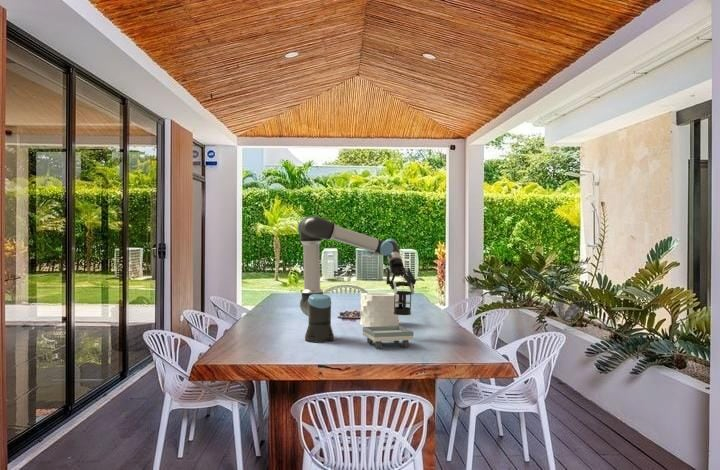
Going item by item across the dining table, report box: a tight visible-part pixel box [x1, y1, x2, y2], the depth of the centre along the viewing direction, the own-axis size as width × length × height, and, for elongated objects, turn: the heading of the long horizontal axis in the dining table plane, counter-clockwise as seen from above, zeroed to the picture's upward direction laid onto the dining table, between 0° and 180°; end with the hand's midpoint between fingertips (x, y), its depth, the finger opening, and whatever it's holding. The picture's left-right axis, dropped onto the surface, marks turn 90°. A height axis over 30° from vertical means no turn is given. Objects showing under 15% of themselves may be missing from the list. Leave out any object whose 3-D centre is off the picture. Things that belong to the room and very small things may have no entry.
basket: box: [359, 291, 400, 327], centre depth 376 cm, size 25×24×19 cm
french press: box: [393, 271, 412, 316], centre depth 328 cm, size 12×9×23 cm
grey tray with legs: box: [362, 325, 414, 350], centre depth 306 cm, size 20×20×8 cm
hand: (404, 293), depth 325 cm, fingers closed on french press, 9 cm apart
